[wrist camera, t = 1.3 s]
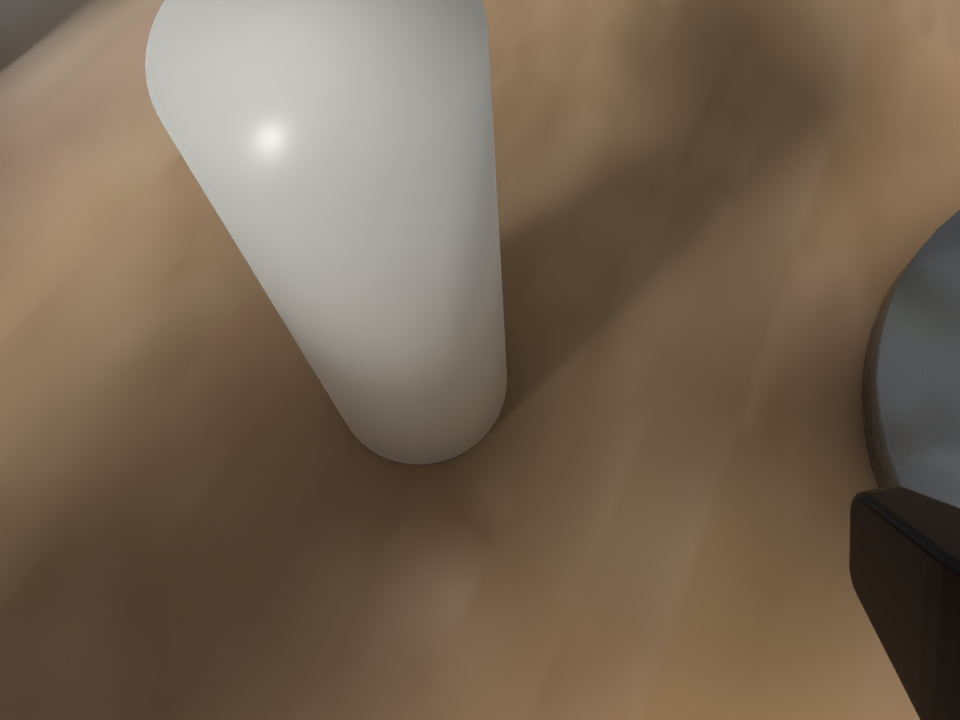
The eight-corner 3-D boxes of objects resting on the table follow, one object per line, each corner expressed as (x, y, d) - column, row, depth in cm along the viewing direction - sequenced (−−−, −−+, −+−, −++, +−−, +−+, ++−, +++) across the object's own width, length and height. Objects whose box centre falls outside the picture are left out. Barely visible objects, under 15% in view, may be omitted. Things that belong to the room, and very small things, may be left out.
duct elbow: (521, 448, 22) (516, 154, 11) (346, 478, 22) (149, 215, 11) (473, 196, 25) (428, -254, 13) (317, 222, 25) (136, -208, 13)
